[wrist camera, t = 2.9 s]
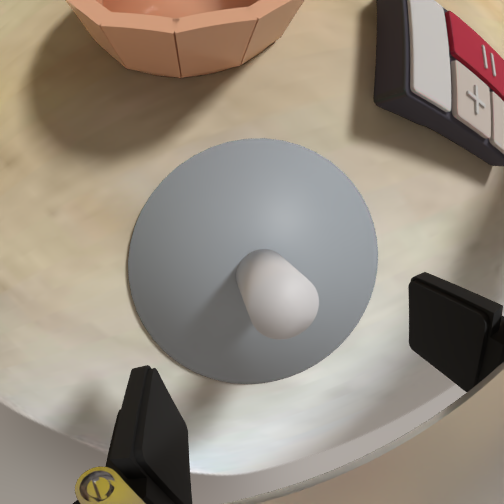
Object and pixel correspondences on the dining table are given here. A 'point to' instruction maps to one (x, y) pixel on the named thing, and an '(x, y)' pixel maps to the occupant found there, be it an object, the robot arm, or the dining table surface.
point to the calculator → (440, 75)
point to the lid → (253, 261)
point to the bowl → (184, 32)
